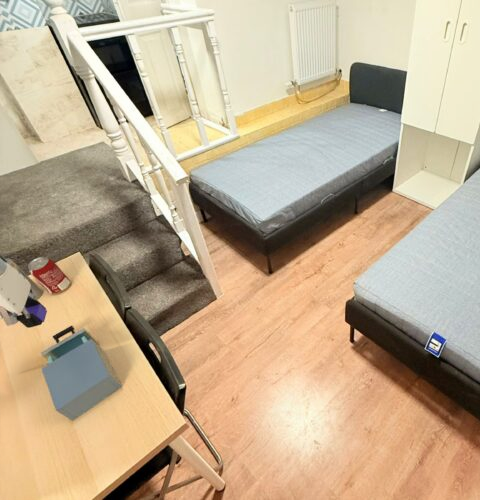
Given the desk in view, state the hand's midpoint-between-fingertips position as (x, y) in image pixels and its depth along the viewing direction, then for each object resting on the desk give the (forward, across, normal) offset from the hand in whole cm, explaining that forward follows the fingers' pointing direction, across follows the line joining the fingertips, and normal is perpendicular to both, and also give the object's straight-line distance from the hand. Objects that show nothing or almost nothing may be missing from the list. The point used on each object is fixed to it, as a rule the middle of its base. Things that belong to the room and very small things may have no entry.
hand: (37, 318), depth 85 cm
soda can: (+16, -27, -8) cm, 32 cm away
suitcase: (+15, +15, +8) cm, 23 cm away
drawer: (+14, +6, +4) cm, 16 cm away
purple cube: (0, 0, 0) cm, 0 cm away
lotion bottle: (+16, -26, -16) cm, 34 cm away
